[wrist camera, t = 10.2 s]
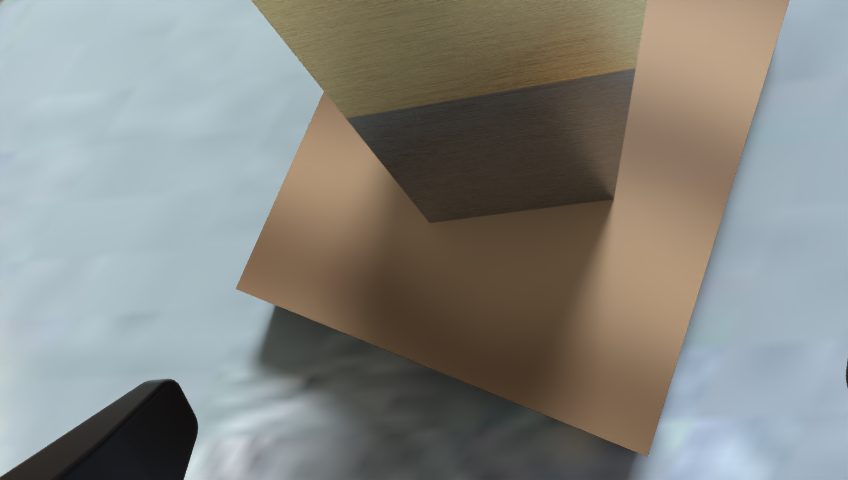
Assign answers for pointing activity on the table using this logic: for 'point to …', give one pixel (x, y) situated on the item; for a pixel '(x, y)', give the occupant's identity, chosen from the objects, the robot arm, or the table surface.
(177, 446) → the robot arm
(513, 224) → the walnut plinth
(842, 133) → the table surface
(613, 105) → the yellow grey tall block
